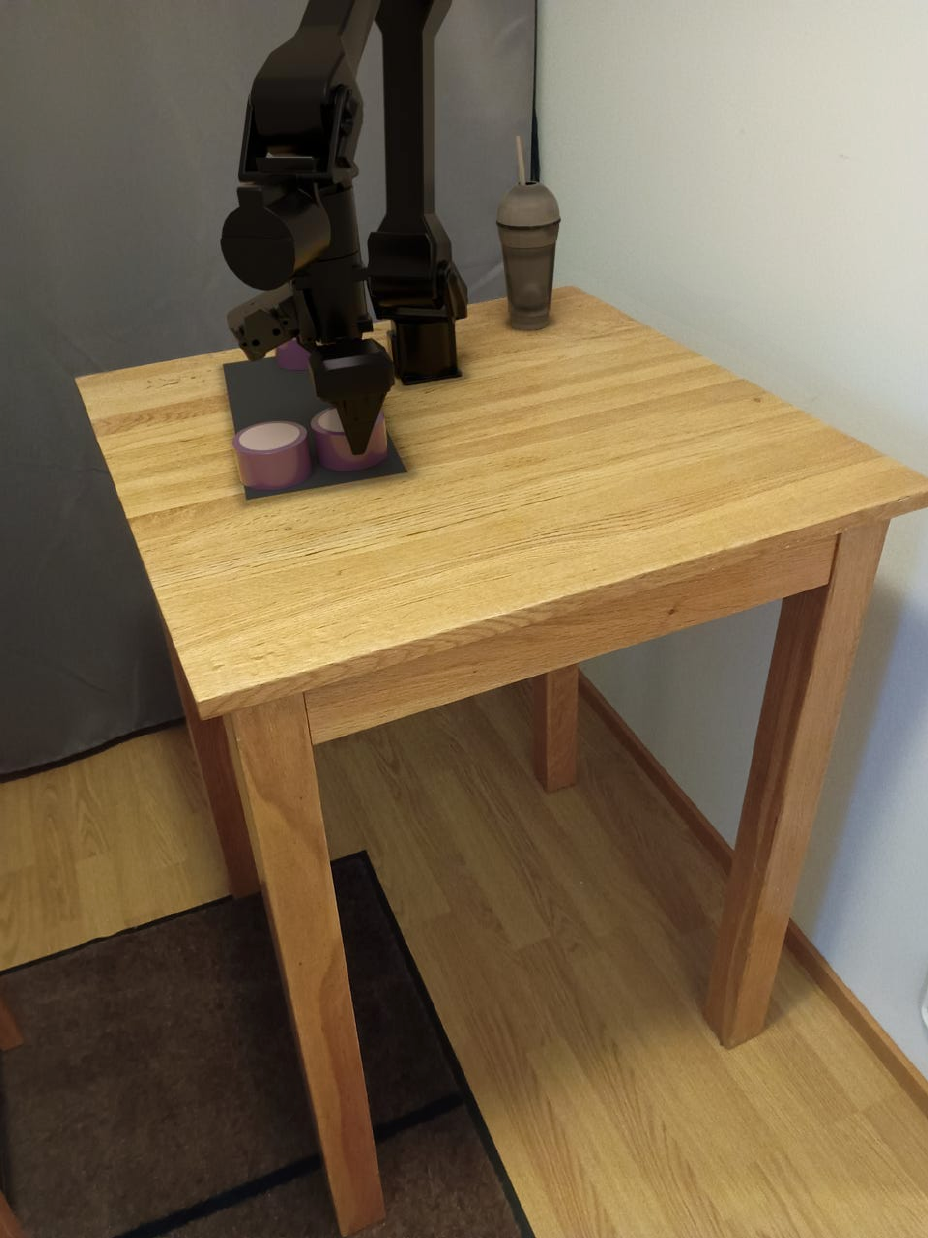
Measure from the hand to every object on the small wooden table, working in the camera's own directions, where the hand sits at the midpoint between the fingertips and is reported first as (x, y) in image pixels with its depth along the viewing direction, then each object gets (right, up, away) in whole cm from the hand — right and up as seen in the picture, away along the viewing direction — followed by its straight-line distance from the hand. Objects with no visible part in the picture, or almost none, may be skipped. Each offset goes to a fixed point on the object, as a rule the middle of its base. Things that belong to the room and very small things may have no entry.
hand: (349, 432), depth 83 cm
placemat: (-6, +4, +10) cm, 12 cm away
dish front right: (-6, -4, -1) cm, 7 cm away
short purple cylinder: (-8, +12, +21) cm, 26 cm away
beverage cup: (+18, +18, +27) cm, 38 cm away
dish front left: (0, -2, +1) cm, 2 cm away
